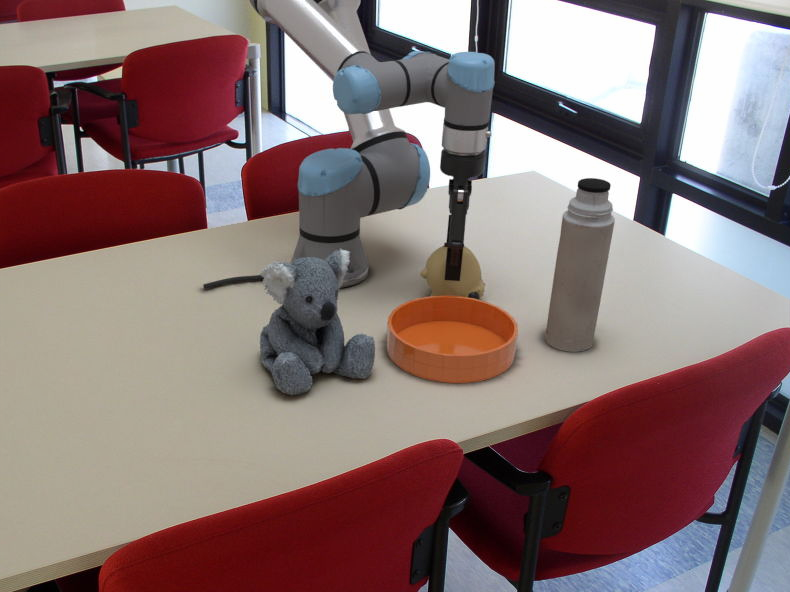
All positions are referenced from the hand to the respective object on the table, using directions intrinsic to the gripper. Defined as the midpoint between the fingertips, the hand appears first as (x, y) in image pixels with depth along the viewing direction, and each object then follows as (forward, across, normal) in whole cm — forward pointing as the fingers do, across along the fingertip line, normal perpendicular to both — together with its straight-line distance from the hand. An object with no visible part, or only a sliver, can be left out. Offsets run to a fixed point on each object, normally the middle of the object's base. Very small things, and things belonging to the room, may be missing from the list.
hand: (452, 263), depth 165 cm
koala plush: (+7, -28, +23) cm, 37 cm away
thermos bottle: (+6, -14, -20) cm, 26 cm away
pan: (+6, -20, 0) cm, 21 cm away
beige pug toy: (+7, -1, 0) cm, 7 cm away
